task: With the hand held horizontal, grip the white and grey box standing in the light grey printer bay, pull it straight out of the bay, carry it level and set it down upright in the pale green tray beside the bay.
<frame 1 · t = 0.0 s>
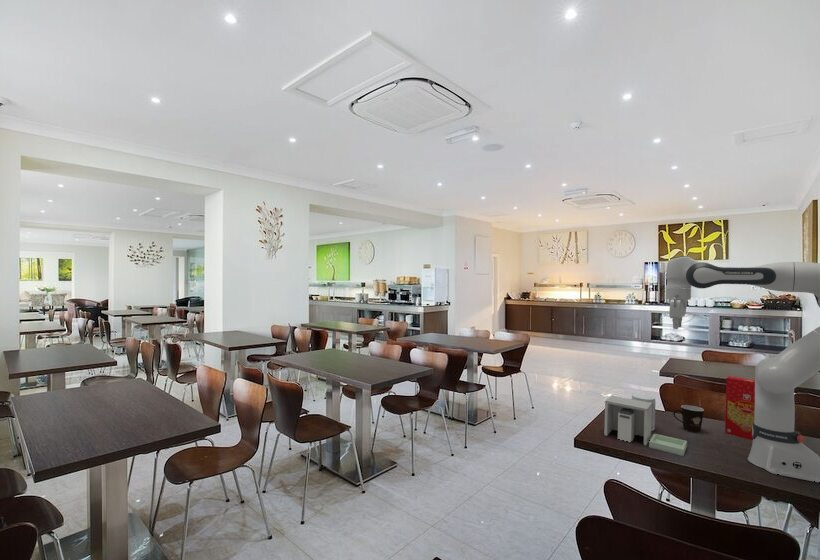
hand: (677, 328, 169), 48 cm above the table, tool pointing down, fingers open, 8 cm apart
food packaging: (747, 437, 177), on the table
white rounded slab: (642, 428, 185), on the table
tray: (668, 447, 163), on the table
white and grey box: (626, 438, 172), on the table
bay: (627, 436, 174), on the table
coffee mug: (687, 429, 185), on the table
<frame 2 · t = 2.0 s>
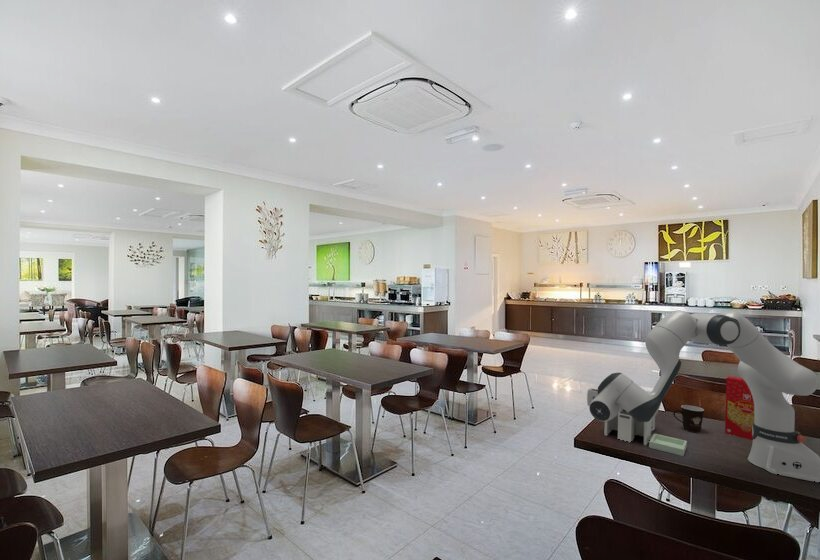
hand: (620, 395, 163), 21 cm above the table, tool horizontal, fingers open, 8 cm apart
nothing on the table moved.
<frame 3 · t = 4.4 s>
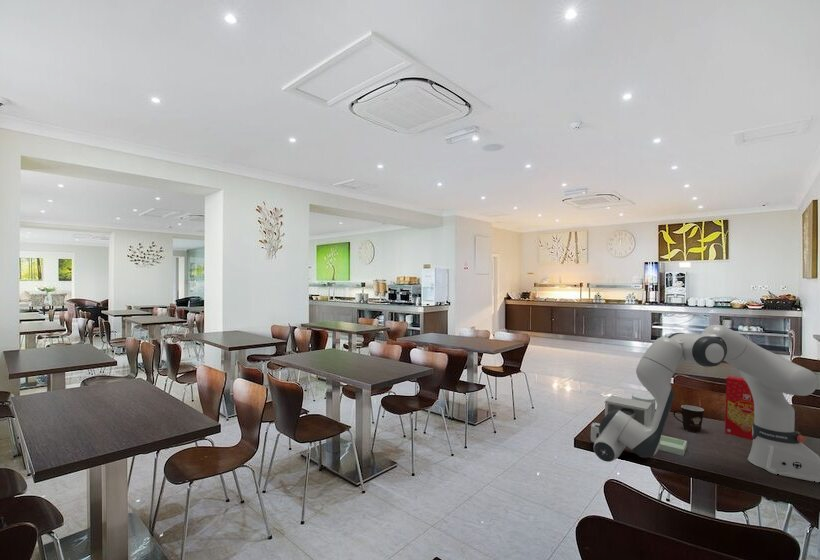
hand: (622, 429, 165), 6 cm above the table, tool horizontal, fingers open, 8 cm apart
nothing on the table moved.
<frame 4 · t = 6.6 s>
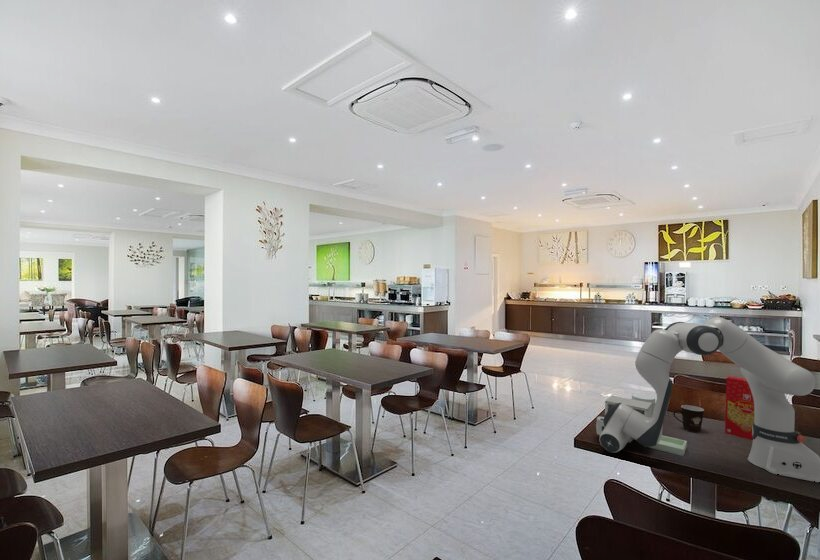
hand: (626, 422, 172), 7 cm above the table, tool horizontal, fingers closed on white and grey box, 5 cm apart
white and grey box: (626, 438, 172), on the table, touching gripper
everything else where it was.
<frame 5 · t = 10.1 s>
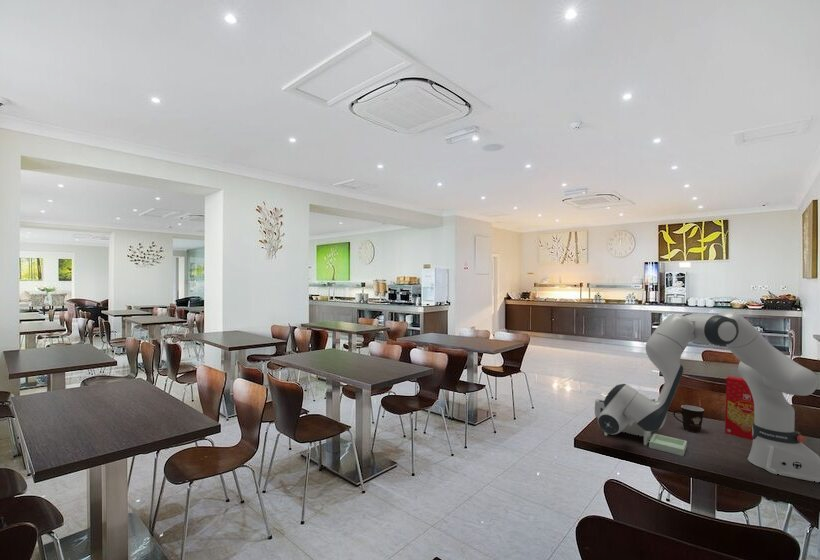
hand: (627, 405, 164), 17 cm above the table, tool horizontal, fingers closed on white and grey box, 5 cm apart
white and grey box: (626, 421, 163), point 10 cm above the table, touching gripper
everything else where it was.
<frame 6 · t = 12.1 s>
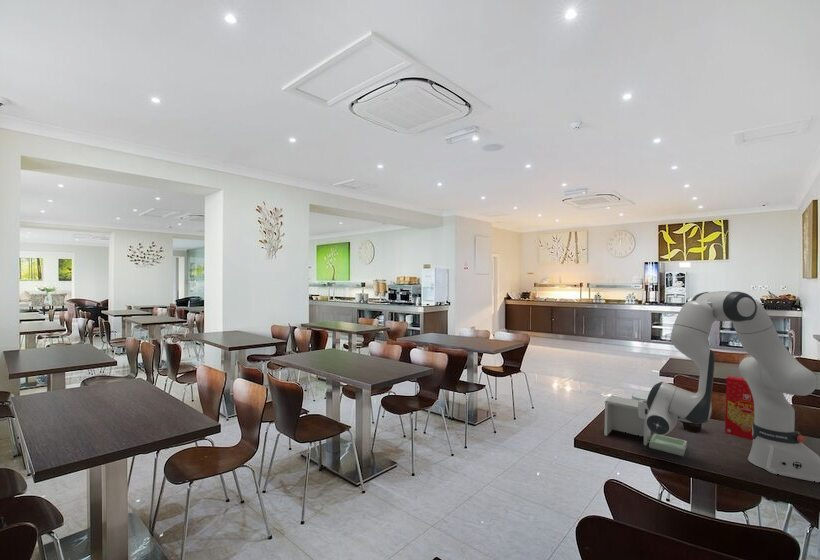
hand: (669, 406, 164), 17 cm above the table, tool horizontal, fingers closed on white and grey box, 5 cm apart
white and grey box: (668, 422, 163), point 10 cm above the table, touching gripper
everything else where it was.
when the fingers open (9 cm above the table, at t = 13.9 s): white and grey box drops 1 cm, resting on tray.
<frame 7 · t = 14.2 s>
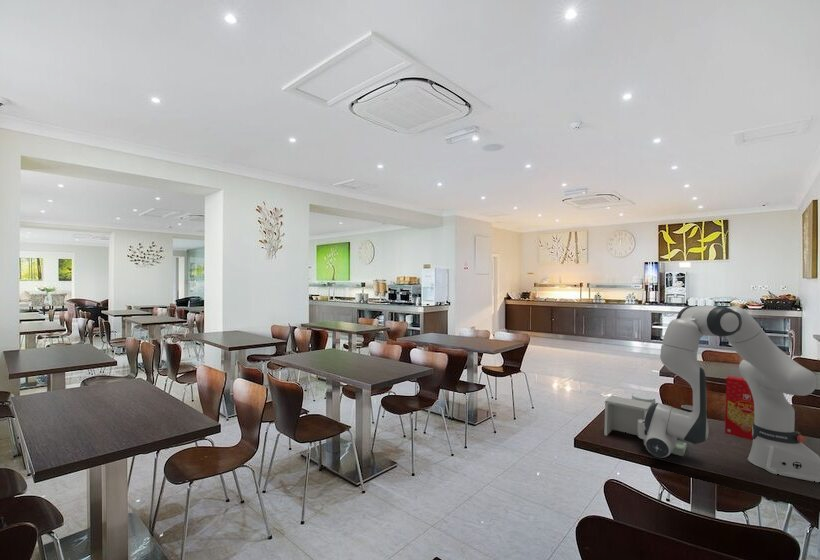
hand: (668, 425, 164), 9 cm above the table, tool horizontal, fingers open, 8 cm apart
white and grey box: (668, 445, 163), point 1 cm above the table, touching tray
everything else where it was.
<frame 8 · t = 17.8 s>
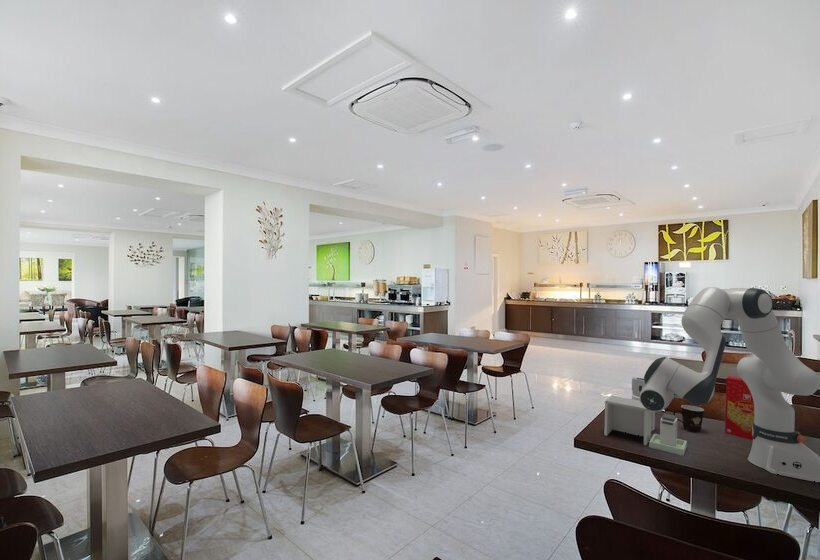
hand: (665, 384, 154), 28 cm above the table, tool horizontal, fingers open, 8 cm apart
nothing on the table moved.
at the end: white and grey box inside the target area on the tray (0.1 cm from its centre), point 0.6 cm above the tray's base; white and grey box tilted 0°; the gripper is holding nothing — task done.
